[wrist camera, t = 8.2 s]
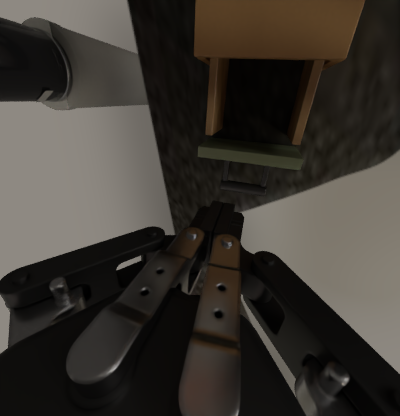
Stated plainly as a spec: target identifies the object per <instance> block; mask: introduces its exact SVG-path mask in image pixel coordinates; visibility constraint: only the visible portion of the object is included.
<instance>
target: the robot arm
mask: <svg viewBox="0 0 400 416" xmlns="http://www.w3.org/2000/svg"><path fill="white" fill-rule="evenodd" d="M72 85H73V74H72V68H71V64H70V61H69V59H68V56H67V54H66V52H65V50H64V49H63V47H62V46H61V44H60V43H59V42H58V40H57V39H56V38H55V37H54V36H52V35H51V34H50V33H48V32H47V31H45V30H42V29H39V28H35V27H29V26H26V25H23V24H19V23H16V22H13V21H10V20H7V19H4V18H0V101H1V102H2V101H37V102H44V101H49V102H60V101H63V100H65V99H66V98H67V97H68V96H69V94H70V92H71V90H72ZM234 209H235V204H229V203H224V202H218V201H213V202H212V204H211V206H210V207H206V206H204V207H202V208H200V209H199V210H198V212H197V214H196V215H195V217H194V219H193V221H192V222H191V224H190V226H189V227H187V228H184V229H182V230H181V231H180V232H179V234H178V235H165V232H164V230H163V229H161V228H159V227H147V228H144V229H141V230H137V231H134V232H131V233H128V234H125V235H122V236H119V237H115V238H112V239H109V240H106V241H103V242H100V243H97V244H94V245H90V246H87V247H84V248H81V249H78V250H75V251H72V252H68V253H65V254H62V255H59V256H56V257H53V258H49V259H46V260H43V261H40V262H37V263H34V264H31V265H27V266H24V267H21V268H19V269H16V270H14V271H12V272H10V273H8V274H7V275H6V276H4V277H3V278H2V279H1V280H0V295H1V296H2V298H3V299H4V301H5V305H6V307H7V308H8V310H9V311H10V324H9V340H8V348H7V349H6V350H5V351H3V352H2V353H1V354H0V416H400V374H399V373H398V372H397V371H396V370H395V369H394V368H393V367H392V366H391V365H389V364H388V363H387V362H386V361H385V360H384V359H383V358H382V357H381V356H380V355H379V354H378V353H377V352H376V351H375V350H374V349H373V348H372V347H371V346H370V345H369V344H368V343H367V342H366V341H365V340H364V339H363V338H362V337H361V336H359V335H358V334H357V333H356V332H355V331H354V330H353V329H352V328H351V327H350V326H349V325H348V324H347V323H346V322H345V321H344V320H343V319H342V318H341V317H340V316H339V315H338V314H336V312H335V311H334V310H333V309H332V308H330V307H329V306H328V305H327V304H326V303H325V302H324V301H323V300H322V299H321V298H320V297H319V296H318V295H317V294H316V293H315V292H314V291H313V290H312V289H311V288H310V287H309V286H308V285H307V284H306V283H305V282H303V281H302V279H300V278H299V277H298V276H297V275H296V274H295V273H294V272H293V271H292V270H291V269H290V268H289V267H288V266H287V265H286V264H285V263H284V262H283V261H282V260H281V259H280V258H279V257H277V256H276V255H275V254H273V253H270V252H267V251H259V252H256V253H255V254H252V253H250V252H248V251H246V250H245V249H244V248H243V247H242V245H241V242H240V241H241V235H242V228H243V222H244V216H243V215H242V213H238V212H234ZM140 255H141V261H139V262H137V263H134V264H132V265H130V266H127V267H125V268H122V269H120V270H116V269H117V267H118V265H119V264H121V263H123V262H125V261H128V260H130V259H133V258H135V257H138V256H140ZM204 263H207V264H208V265H207V270H206V274H205V279H204V283H203V287H202V292H201V295H191V294H192V291H193V289H194V287H195V285H196V283H197V281H198V279H199V276H200V274H201V269H202V267H203V264H204ZM241 294H242V295H243V298H244V301H245V303H246V304H247V306H248V307H249V309H250V310H251V312H252V313H253V315H254V316H255V318H256V319H257V321H258V322H259V324H260V325H261V327H262V328H263V330H264V331H265V333H266V334H267V336H268V337H269V339H270V340H271V342H272V344H273V345H274V347H275V348H276V350H277V351H278V353H279V354H280V356H281V357H282V359H283V360H284V362H285V363H286V365H287V366H288V368H289V369H290V371H291V372H292V374H293V375H294V376H295V378H296V381H295V394H296V397H295V395H294V394H293V392H292V390H291V389H290V387H289V385H288V384H287V382H286V380H285V378H284V377H283V375H282V373H281V372H280V370H279V368H278V367H277V365H276V363H275V362H274V360H273V358H272V356H271V355H270V353H269V351H268V350H267V348H266V346H265V345H264V343H263V341H262V340H261V338H260V336H259V334H258V333H257V331H256V330H255V328H254V327H253V326H252V324H251V323H250V322H249V321H248V320H247V319H246V318H245V317H244V316H243V315H241V314H240V306H241ZM296 398H297V399H296Z"/></svg>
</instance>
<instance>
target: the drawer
mask: <svg viewBox="0 0 400 416" xmlns="http://www.w3.org/2000/svg"><path fill="white" fill-rule="evenodd" d="M229 59H230V58H210V70H209V86H208V101H207V117H206V132H205V134H206V135H213V134H215V133H216V132H218V131H219V130H221V129H222V128H223V118H224V108H225V98H226V89H227V79H228V69H229ZM323 64H324V60H305V63H304V67H303V71H302V75H301V79H300V83H299V87H298V91H297V95H296V99H295V103H294V106H293V110H292V114H291V118H290V122H289V126H288V130H287V134H286V135H287V136H288V138H289V140H290V142H291V143H292V144H295V145H300V143H301V140H302V136H303V133H304V129H305V126H306V122H307V119H308V116H309V112H310V109H311V105H312V102H313V98H314V95H315V91H316V88H317V85H318V81H319V78H320V74H321V71H322V67H323ZM198 157H204V158H212V159H219V160H225V164H224V172H223V179H222V180H221V183H220V189H221V190H227V191H233V192H239V193H245V194H251V195H257V196H263V197H264V196H265V194H266V189H267V186H266V181H267V177H268V173H269V168H270V166H272V167H280V168H288V169H295V170H300V169H301V166H302V163H303V158H302V156H301V154H300V153H299V151H298V150H297V148H296V147H295V146H287V145H277V144H268V143H259V142H250V141H241V140H231V139H222V138H213V137H211V138H210V139H208V140H207V141H205V142H204V143H203V144H201V145H200V146H198ZM230 161H235V162H242V163H250V164H257V165H265V167H264V171H263V176H262V181H261V185H256V184H249V183H243V182H236V181H230V180H228V172H229V165H230Z"/></svg>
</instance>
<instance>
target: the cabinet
mask: <svg viewBox="0 0 400 416" xmlns="http://www.w3.org/2000/svg"><path fill="white" fill-rule="evenodd" d="M364 2H365V0H196V5H195V36H194V56H195V57H196V58H198V59H199V60H201V61H203V62H204V63H206V64H208V65H209V66H210V58H235V59H281V60H324V64H323V67H322V71H323V70H325V69H327V68H329V67H331V66H333V65H335V64H337V63H339V62H341V61H343V60H345V59H346V57H347V54H348V51H349V48H350V45H351V42H352V38H353V35H354V32H355V29H356V26H357V23H358V20H359V17H360V14H361V11H362V8H363V5H364Z"/></svg>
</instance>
